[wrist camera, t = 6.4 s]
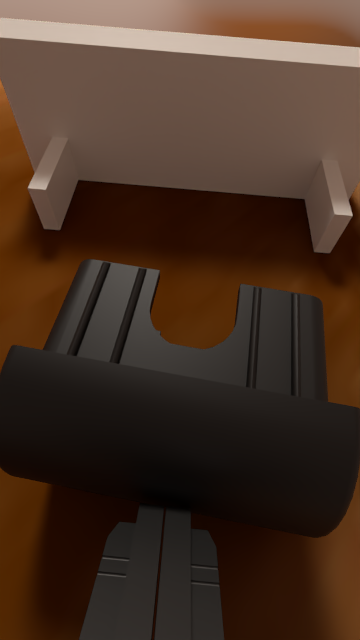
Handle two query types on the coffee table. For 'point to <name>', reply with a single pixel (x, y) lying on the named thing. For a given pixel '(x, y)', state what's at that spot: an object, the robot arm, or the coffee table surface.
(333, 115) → the white board with feet
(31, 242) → the coffee table surface
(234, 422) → the end cap
